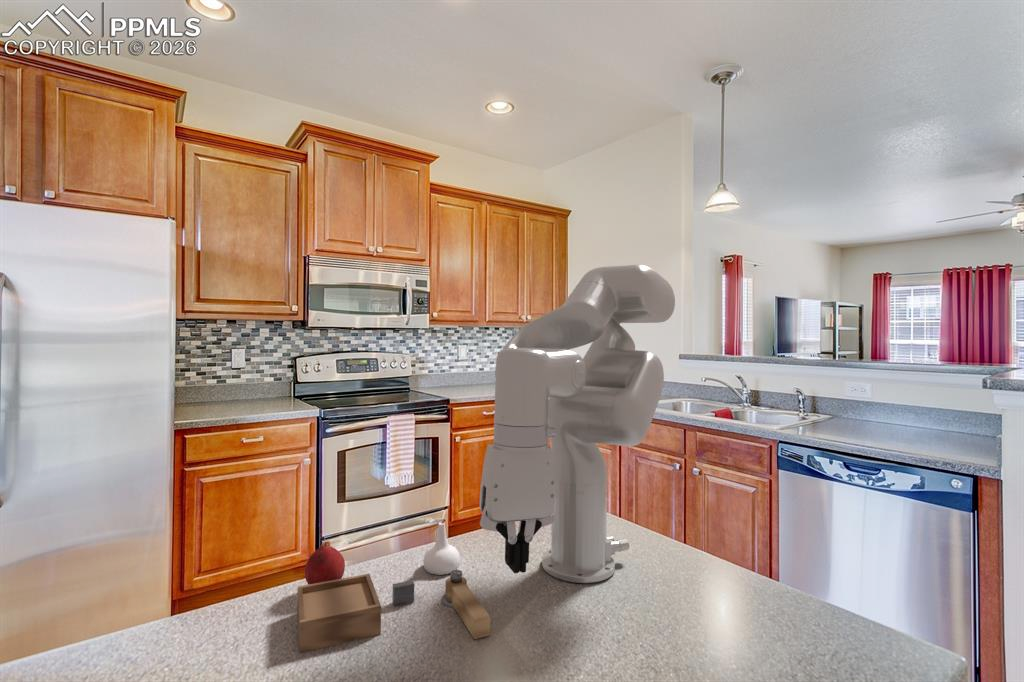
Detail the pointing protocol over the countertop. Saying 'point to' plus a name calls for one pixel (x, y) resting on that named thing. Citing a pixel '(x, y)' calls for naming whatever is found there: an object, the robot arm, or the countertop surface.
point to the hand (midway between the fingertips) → (516, 568)
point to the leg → (468, 608)
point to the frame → (405, 590)
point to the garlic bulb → (441, 555)
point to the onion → (324, 565)
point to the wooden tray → (337, 612)
